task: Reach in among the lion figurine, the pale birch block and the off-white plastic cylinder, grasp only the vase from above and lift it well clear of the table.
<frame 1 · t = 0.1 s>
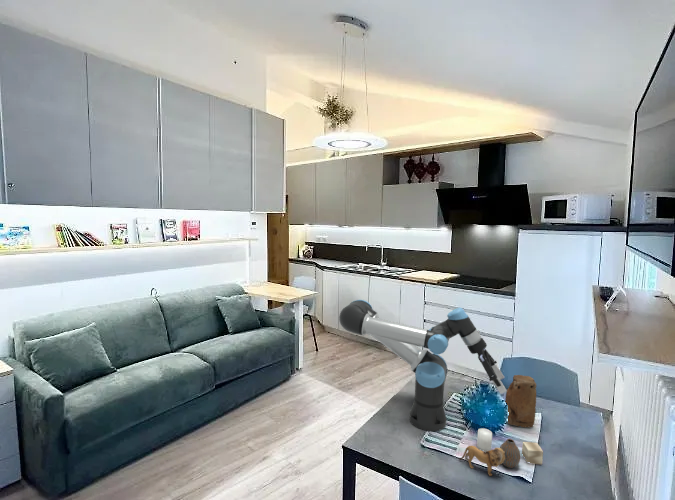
hand: (502, 385, 160), 15 cm above the table, tool tilted 35°, fingers open, 13 cm apart
birch block: (531, 459, 136), on the table
white cylinder: (483, 447, 142), on the table
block: (518, 423, 159), on the table
vase: (508, 464, 133), on the table
lion figurine: (482, 468, 130), on the table
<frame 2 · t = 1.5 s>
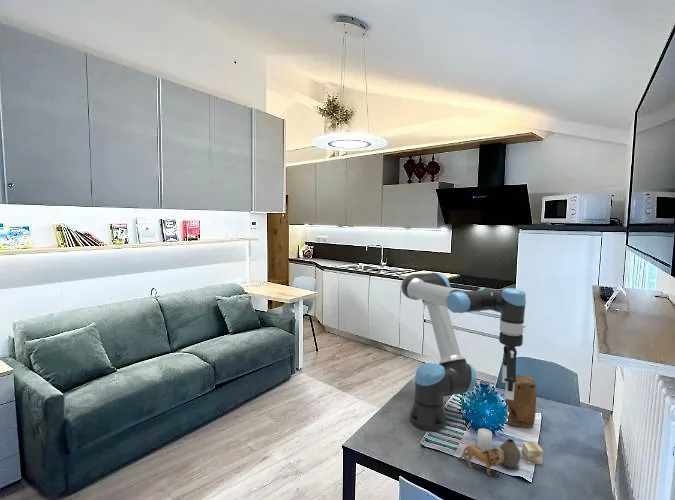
hand: (507, 390, 135), 24 cm above the table, tool pointing down, fingers open, 13 cm apart
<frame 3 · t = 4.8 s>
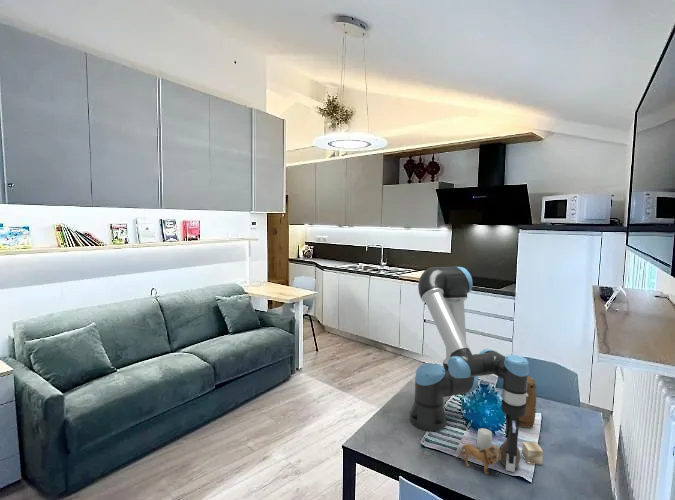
hand: (509, 463, 132), 0 cm above the table, tool pointing down, fingers closed on vase, 7 cm apart
vase: (508, 464, 133), on the table, touching gripper
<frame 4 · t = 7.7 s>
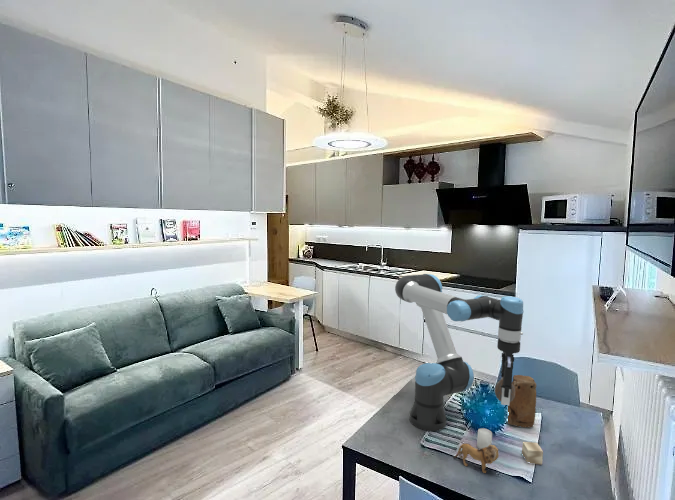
hand: (504, 399, 140), 19 cm above the table, tool pointing down, fingers closed on vase, 7 cm apart
vase: (504, 400, 140), point 19 cm above the table, touching gripper
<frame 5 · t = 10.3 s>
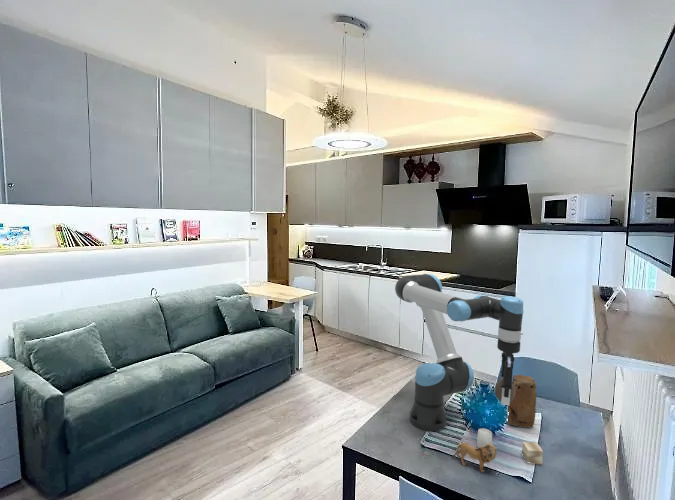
hand: (504, 399, 140), 19 cm above the table, tool pointing down, fingers closed on vase, 7 cm apart
vase: (504, 400, 140), point 19 cm above the table, touching gripper
at the end: vase point 18.5 cm above the table; the gripper is holding vase; lion figurine moved 2.9 cm from its start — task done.
